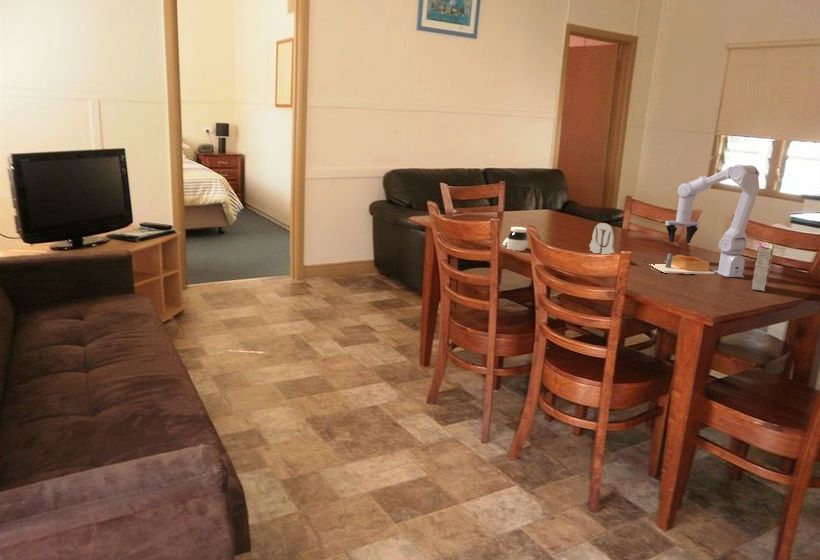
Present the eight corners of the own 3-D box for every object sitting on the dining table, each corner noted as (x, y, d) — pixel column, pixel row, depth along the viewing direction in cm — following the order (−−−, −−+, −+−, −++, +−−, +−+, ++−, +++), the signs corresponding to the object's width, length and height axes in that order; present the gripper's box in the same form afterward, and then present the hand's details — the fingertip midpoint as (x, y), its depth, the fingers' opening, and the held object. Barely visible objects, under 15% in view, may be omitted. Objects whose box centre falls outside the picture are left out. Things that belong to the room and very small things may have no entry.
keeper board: (714, 275, 253) (717, 258, 252) (663, 274, 251) (666, 256, 249) (688, 265, 273) (690, 249, 271) (640, 263, 270) (642, 247, 269)
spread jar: (520, 257, 269) (523, 230, 267) (496, 253, 275) (498, 227, 272) (529, 253, 279) (532, 227, 277) (506, 249, 285) (508, 224, 282)
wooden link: (708, 271, 256) (709, 262, 255) (685, 270, 255) (686, 261, 254) (688, 263, 270) (690, 255, 269) (666, 262, 269) (668, 254, 268)
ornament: (615, 267, 260) (620, 227, 256) (587, 267, 256) (592, 227, 252) (587, 256, 280) (591, 219, 276) (560, 256, 277) (565, 219, 273)
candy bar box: (752, 284, 242) (760, 242, 238) (766, 286, 239) (775, 244, 235) (749, 289, 232) (758, 246, 229) (765, 291, 230) (773, 248, 226)
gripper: (695, 211, 275) (690, 241, 278) (664, 209, 273) (659, 240, 276) (704, 213, 268) (698, 244, 271) (672, 211, 266) (667, 243, 269)
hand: (679, 242), depth 273 cm, fingers open, 7 cm apart
